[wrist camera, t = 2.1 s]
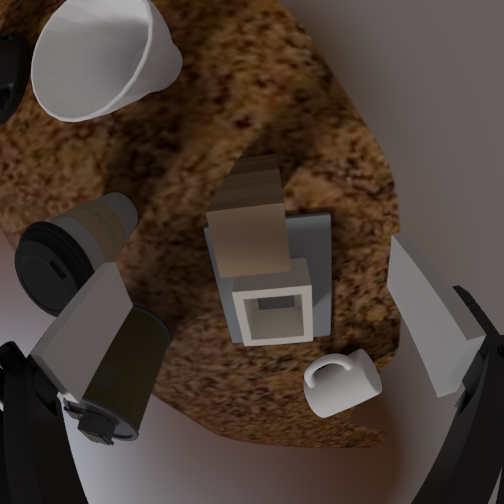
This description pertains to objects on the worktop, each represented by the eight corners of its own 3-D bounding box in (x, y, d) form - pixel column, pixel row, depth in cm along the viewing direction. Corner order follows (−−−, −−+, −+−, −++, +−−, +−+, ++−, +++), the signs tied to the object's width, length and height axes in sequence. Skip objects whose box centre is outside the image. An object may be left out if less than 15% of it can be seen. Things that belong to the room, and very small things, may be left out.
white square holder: (237, 264, 34) (231, 292, 29) (306, 257, 33) (311, 285, 28) (247, 315, 37) (244, 346, 32) (308, 310, 36) (312, 340, 32)
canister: (159, 305, 39) (105, 426, 21) (178, 354, 43) (146, 463, 26) (100, 304, 40) (37, 403, 22) (123, 350, 45) (81, 444, 27)
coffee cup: (162, 200, 31) (95, 270, 18) (136, 260, 35) (81, 341, 22) (98, 165, 29) (10, 212, 16) (80, 227, 33) (10, 290, 20)
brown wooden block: (238, 158, 29) (205, 212, 14) (276, 153, 28) (283, 202, 14) (244, 194, 30) (220, 277, 16) (281, 190, 30) (290, 271, 16)
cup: (165, 129, 27) (95, 150, 15) (98, 85, 25) (14, 89, 13) (224, 50, 23) (189, 9, 11) (150, 10, 20) (82, -30, 9)
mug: (375, 362, 42) (386, 399, 35) (326, 387, 46) (331, 424, 39) (342, 325, 39) (352, 367, 32) (287, 355, 42) (288, 397, 35)
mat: (205, 225, 32) (203, 228, 32) (329, 212, 31) (330, 214, 30) (233, 338, 41) (232, 342, 40) (329, 331, 39) (330, 335, 38)
